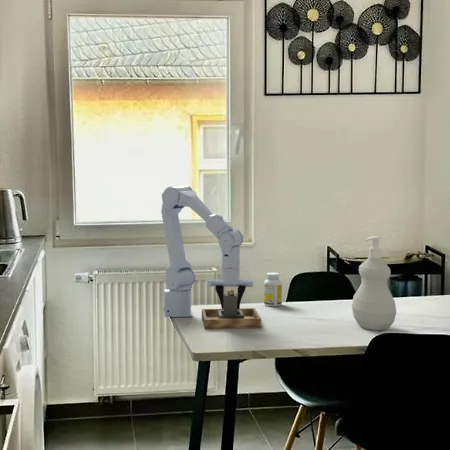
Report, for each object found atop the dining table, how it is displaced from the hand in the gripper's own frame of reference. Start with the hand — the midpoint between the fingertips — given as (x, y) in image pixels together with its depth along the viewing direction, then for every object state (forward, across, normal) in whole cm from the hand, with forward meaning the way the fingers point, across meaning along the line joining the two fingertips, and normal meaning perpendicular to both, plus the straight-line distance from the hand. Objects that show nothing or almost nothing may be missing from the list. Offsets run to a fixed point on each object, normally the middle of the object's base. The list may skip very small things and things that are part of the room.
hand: (230, 308), depth 259 cm
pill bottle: (+5, -14, -30) cm, 33 cm away
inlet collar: (+5, 0, 0) cm, 5 cm away
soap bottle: (+5, -46, +3) cm, 46 cm away
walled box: (+5, 0, 0) cm, 5 cm away
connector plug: (+2, 0, 0) cm, 3 cm away
